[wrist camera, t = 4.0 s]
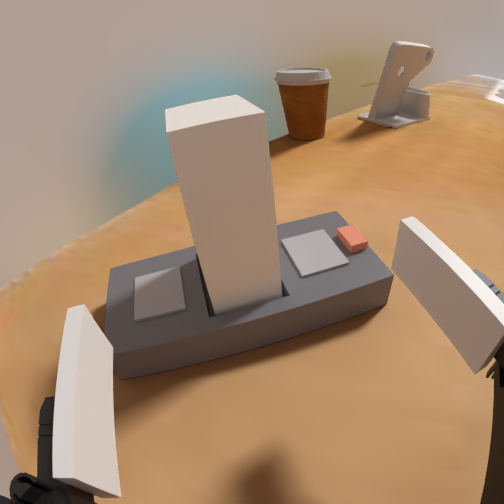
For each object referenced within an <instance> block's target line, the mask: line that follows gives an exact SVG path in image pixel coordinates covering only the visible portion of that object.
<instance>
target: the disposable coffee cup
mask: <svg viewBox="0 0 504 504" xmlns="http://www.w3.org/2000/svg"><path fill="white" fill-rule="evenodd" d="M330 79H331V76H330V75H329V72H328V70H327V69H323V68H291V69H283V70H278V71H277V74H276V78H275V80H276V81H277V84H278V86H279V90H280V95H281V99H282V104H283V108H284V113H285V117H286V122H287V126H288V131H289V136H290V137H291V138H294V139H298V140H314V139H319V138H322V137H323V136H324V133H325V123H326V111H327V99H328V87H329V82H330Z"/></svg>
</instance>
